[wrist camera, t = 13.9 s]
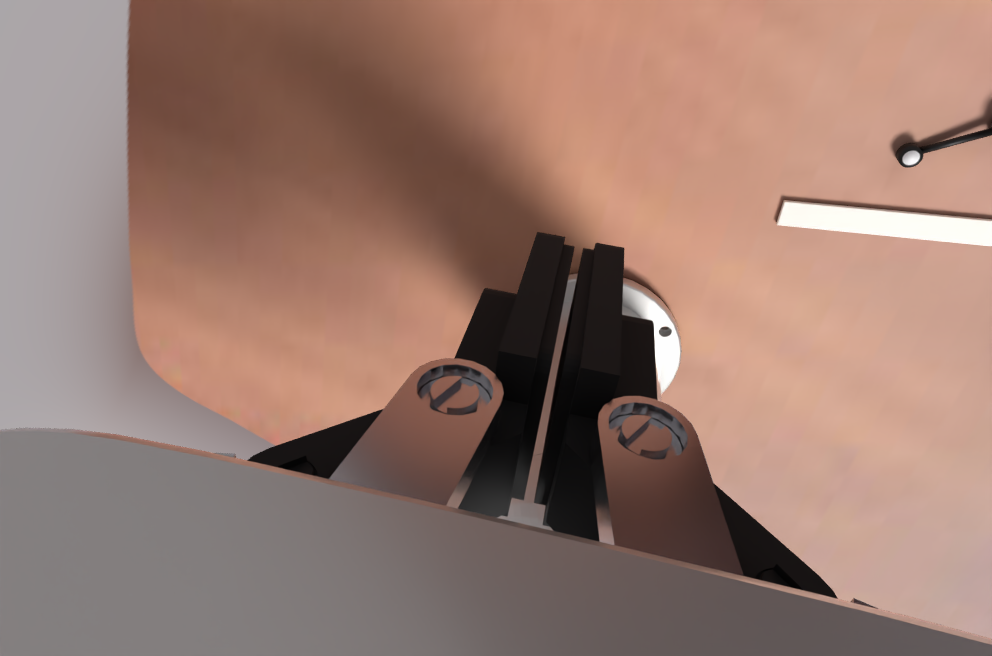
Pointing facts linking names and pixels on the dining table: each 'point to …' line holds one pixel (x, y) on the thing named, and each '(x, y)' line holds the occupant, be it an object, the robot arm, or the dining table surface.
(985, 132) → the robot toy
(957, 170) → the dining table surface
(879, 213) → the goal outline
